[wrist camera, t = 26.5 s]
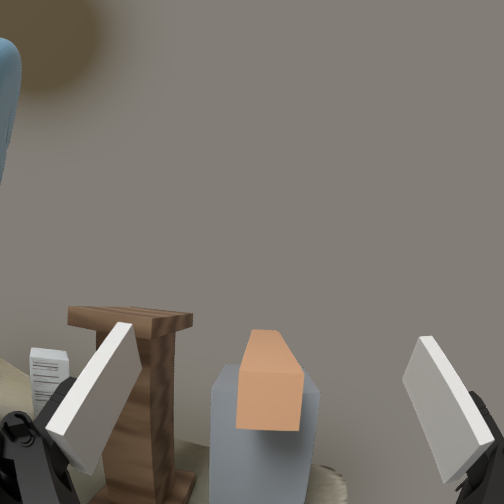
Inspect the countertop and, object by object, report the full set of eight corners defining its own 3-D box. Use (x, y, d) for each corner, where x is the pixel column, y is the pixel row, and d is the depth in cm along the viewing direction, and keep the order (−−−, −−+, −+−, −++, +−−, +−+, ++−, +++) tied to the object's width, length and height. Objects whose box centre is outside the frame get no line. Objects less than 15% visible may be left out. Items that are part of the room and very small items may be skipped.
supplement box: (35, 412, 50) (30, 346, 53) (70, 414, 56) (66, 350, 59) (35, 429, 43) (28, 355, 46) (74, 431, 49) (69, 359, 51)
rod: (298, 430, 17) (304, 373, 18) (235, 428, 17) (238, 370, 18) (276, 355, 46) (278, 330, 47) (251, 354, 47) (252, 329, 47)
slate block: (292, 556, 22) (320, 393, 26) (209, 552, 22) (211, 387, 26) (286, 507, 34) (303, 367, 38) (220, 503, 34) (226, 363, 38)
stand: (169, 545, 22) (161, 319, 27) (84, 518, 23) (61, 305, 28) (195, 481, 40) (199, 313, 45) (130, 467, 41) (127, 306, 45)
